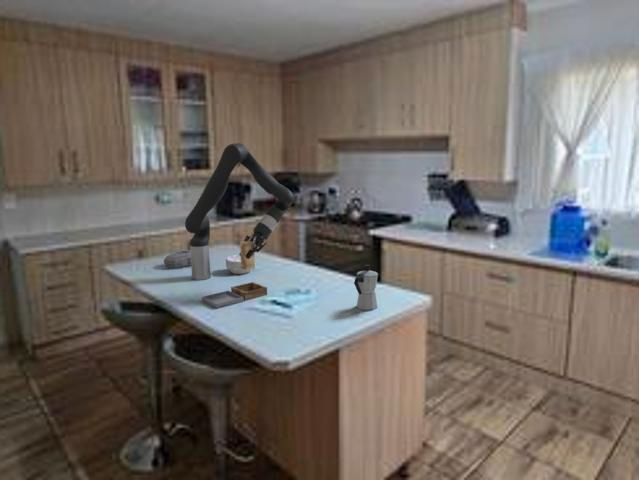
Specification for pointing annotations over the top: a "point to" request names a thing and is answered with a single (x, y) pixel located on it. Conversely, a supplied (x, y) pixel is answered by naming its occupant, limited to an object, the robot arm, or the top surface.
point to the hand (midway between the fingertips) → (243, 256)
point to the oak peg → (244, 249)
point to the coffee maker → (366, 289)
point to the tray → (222, 299)
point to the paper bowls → (235, 264)
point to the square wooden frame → (256, 290)
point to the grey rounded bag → (178, 260)
